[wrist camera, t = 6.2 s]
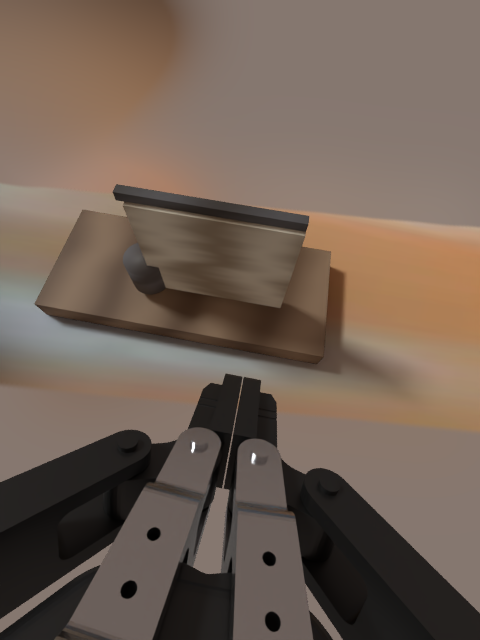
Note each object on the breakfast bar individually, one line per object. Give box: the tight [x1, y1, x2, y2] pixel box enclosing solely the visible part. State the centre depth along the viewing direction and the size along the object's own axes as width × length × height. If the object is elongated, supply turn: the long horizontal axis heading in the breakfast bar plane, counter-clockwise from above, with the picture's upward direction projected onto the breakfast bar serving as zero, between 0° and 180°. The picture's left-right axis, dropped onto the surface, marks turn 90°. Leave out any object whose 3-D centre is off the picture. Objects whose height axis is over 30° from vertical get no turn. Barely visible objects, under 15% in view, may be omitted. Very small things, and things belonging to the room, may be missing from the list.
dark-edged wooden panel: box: [113, 184, 309, 308], centre depth 22 cm, size 12×3×10 cm, turn 80°
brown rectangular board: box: [35, 210, 331, 364], centre depth 28 cm, size 24×10×2 cm, turn 80°
